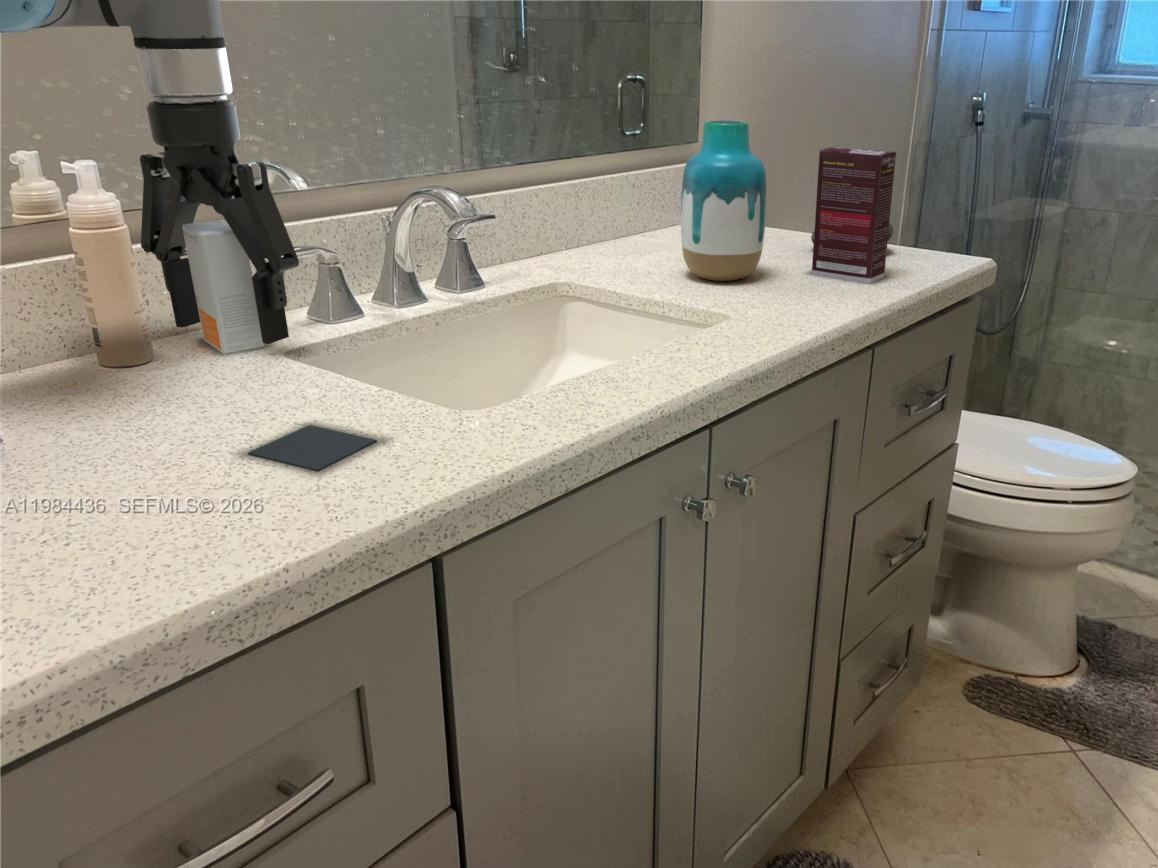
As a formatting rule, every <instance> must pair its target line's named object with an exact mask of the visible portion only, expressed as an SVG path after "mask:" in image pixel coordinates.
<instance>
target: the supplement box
mask: <svg viewBox="0 0 1158 868" xmlns="http://www.w3.org/2000/svg"><path fill="white" fill-rule="evenodd" d="M896 156H897V151H891V150H890V151H889V150H878V149H876V150H875V149H867V148H866V149H865V148H852V147H844V146H843V147H842V146H830V147H825V148H822V149H819V155H818V169H817V184H816V185H817V186H816V200H815V217H814V231H813V232H814V244H813V249H812V263H811V267H812V268H811V275H814V276H820V277H824V278H825V277H826V278H831V279H832V278H833V279H838V280H844V281H851V282H856V283H863V284H873V283H875V282H877V281H879V280H881V279H883V278H885V271H886V261H887V252H888V251H887V250H888V242H889V241H888V231H889V223H890V220H891V219H890V218H891V209H892V198H893V187H894V180H895V179H894V178H895V167H896ZM887 241H888V242H887Z"/></svg>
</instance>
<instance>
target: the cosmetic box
mask: <svg viewBox="0 0 1158 868" xmlns="http://www.w3.org/2000/svg"><path fill="white" fill-rule="evenodd" d="M182 229H183V234H184V239H185V244H186V248H185V249H186V250H187V252H186V253H187V255H186V256H187V258H188V260H189V265H190V270H191V275H192V281H193V286H194V291H195V296H196V301H197V306H198V311H199V317H200V322H199V323H200V327H201V332H202V338H203V341H204V342H206V343H207V344H209V345H210V346H212V347H213V348H215V349H216V350H218V352H220V353H221V354H222V355H226V354H232V353H237V352H243V351H248V350H253V349H259V348H264V347H265V343H263V342H262V336H261V330H260V324H259V318H258V312H257V305H256V299H255V293H254V287H253V281H252V276H253V271H252V265H251V260H250V259H249V257H248V255H247V254H246V252H245V251H244V249H243V247H242V246H241V244H240V242H239V241H238V239H237V238H236V236H235V234H234V233H233V231H232V229H231V228H230V226H229V225H228V223H227V221H226V220H225V219H217V220H209V221H198V222H193V223H189V224H183V225H182Z"/></svg>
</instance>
